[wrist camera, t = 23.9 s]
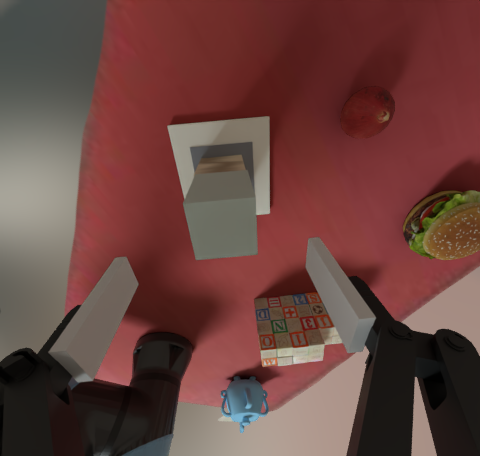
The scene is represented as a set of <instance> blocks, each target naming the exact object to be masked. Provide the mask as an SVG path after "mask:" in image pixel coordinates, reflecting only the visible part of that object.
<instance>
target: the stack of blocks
mask: <svg viewBox="0 0 480 456" xmlns="http://www.w3.org/2000/svg"><path fill="white" fill-rule="evenodd" d="M254 304H255V312H256V321H257V330H258V339H259V347H260V352H261V360H262V366H263V367H265V366H275V365H278V366H284V365H292V364H298V363H306V362H314V361H322V360H323V354H324V347H325V345H327V344H337V343H343V342H342V340H341V338H340V336H339V334H338V332H337V330H336V328H335V326H334V324H333V322H332V320H331V318H330V316H329V314H328V312H327V310H326V308H325V306H324V304H323V302H322V300H321V298H320V296H319V294H318V292H314V293H305V294H297V295H288V296H280V297H279V296H278V297H268V298H259V299H254Z"/></svg>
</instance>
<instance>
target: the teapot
mask: <svg viewBox="0 0 480 456" xmlns="http://www.w3.org/2000/svg"><path fill="white" fill-rule="evenodd" d="M255 379H256V377H255V376H251V377H250V378H249V379H242V380H240V377H239V376H235V377H234V381H232V382H231V383H230V384H229V386H228V388H227V390H223V391H221V397H222V398H224V400H223V403H222V407H221V411H222V414H223V415H224V416H225V417H231V419H232V420H233V421H234V422H239V423H240V432H241V433H243V432H244V425H245V426H246V425H249V424H250V422H252V421H256V420H257V419H258V418H259V416H262V417H263V416H266V415H267V413H268V411H269V408H268V404H267V402H266V399H265V398H267V392H266V391H265V390H263V388H262V386H261V384H260V383H259V382H258V381H256V380H255ZM223 393H224V394H225V396H223ZM264 394H265V396H264ZM225 401H226V403H227V408H228V411H229V413H226V412H225V411H224V405H225ZM262 402H264V405H265V408H266V412H265V413H261V408H262Z"/></svg>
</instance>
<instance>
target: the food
mask: <svg viewBox="0 0 480 456" xmlns="http://www.w3.org/2000/svg"><path fill="white" fill-rule="evenodd" d="M403 231H404V236H405V240H406V242H407V243H408V245H409V247H410V249H412V250H413V251H415V252H416V253H418V254H420V255H421V256H425V257H429V258H430V259H433V258H437V259H442V260H452V259H458V258H463V257H466V256H468V255H471V254H473V253H475V252H476V251H478V250H480V192H477V191H465V192H463V193H462V192H460V191H441V192H439V193H436V194H434V195H431V196H429V197H427V198H425V199H424V200H423V201H421V202H420V203H419V204H418V205H416V206H415V207H414V208H413V209H412V210H411V212H410V213H409V214H408V216H407V217H406V219H405V222H404V225H403Z"/></svg>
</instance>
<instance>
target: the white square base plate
mask: <svg viewBox="0 0 480 456" xmlns="http://www.w3.org/2000/svg"><path fill="white" fill-rule="evenodd" d="M167 127H168V131H169V135H170V140H171V144H172V148H173V153H174V157H175V161H176V165H177V170H178V174H179V178H180V183H181V187H182V191H183V195H184V200H185V197H186V195H187V193H188V190H189V188H190V186H191V183H192V181H193V178H194V173H195V171H196V169H197V166H198V164H199V162H200V159H201V158H212V157H222V156H232V155H242V158H243V162H244V166H245V169H246V170H248V173H249V177H250V180H251V183H252V187H253V190H254V193H255V197H256V215H262V214H270V124H269V116H263V117H252V118H241V119H230V120H219V121H208V122H197V123H186V124H175V125H168V126H167Z"/></svg>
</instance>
